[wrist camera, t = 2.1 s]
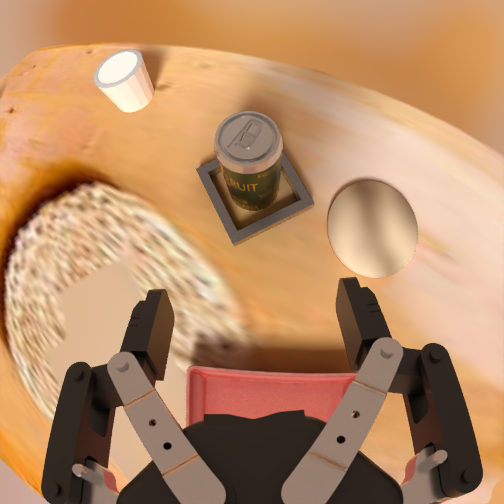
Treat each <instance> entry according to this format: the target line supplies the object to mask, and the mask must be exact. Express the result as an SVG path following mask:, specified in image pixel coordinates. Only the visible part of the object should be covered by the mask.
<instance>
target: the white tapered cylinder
mask: <svg viewBox="0 0 504 504" xmlns="http://www.w3.org/2000/svg"><path fill="white" fill-rule="evenodd" d="M94 83H95V84H96V85H97V86H98V87H99V88H100V89H101V90H102V91H103V92H104V93H105V94H106V95H107V96H108V97H109V98H110V99H111V100H112V101H113V102H114V103H115V104H116V105H117V106H118V107H119V108H120V109H121V110H122V111H124V112H135V111H137V110H139V109H142V108H143V107H144V106H146V105H147V104H148V103H149V102H150V100H151V99H152V97H153V94H154V89H153V85H152V83H151V80H150V77H149V74H148V72H147V69H146V66H145V63H144V61H143V58H142V55H141V53H140V52H139V51H137V50H135V49H125V50H121V51H118V52H116V53H114V54H112V55H110V56H109V57H108V58H106V59H105V60H104V61H103V62H102V63H101V64H100V65H99V67H98V68H97V69H96V72H95V74H94Z"/></svg>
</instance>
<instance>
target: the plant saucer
mask: <svg viewBox="0 0 504 504" xmlns="http://www.w3.org/2000/svg"><path fill="white" fill-rule="evenodd" d="M357 374H358V373H283V372H264V371H247V370H235V369H224V368H214V367H205V366H196V365H194V366H191V367H189V368H188V369H187V374H186V382H187V384H186V427H187V426H189V425H191V424H193V423H195V422H198V421H201V420H203V419H204V414H231V415H235V416H240V417H245V418H250V419H256V418H260V417H264V416H267V415H270V414H274V413H277V412H283V411H294V410H304V411H305V416H311V417H315V418H318V419H321V420H323V421H325V422H326V423H328V421H329V419H330V418H331V416H332V415H333V413H334V411H335V410H336V408H337V407H338V405H339V403H340V402H341V400H342V398H343V396H344V395H345V393H346V391H347V390H348V388H349V386H350V384H351V383H352V381H353V380H354V379H355V378H356V376H357Z"/></svg>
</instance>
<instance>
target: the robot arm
mask: <svg viewBox="0 0 504 504" xmlns="http://www.w3.org/2000/svg"><path fill="white" fill-rule="evenodd" d="M336 313H337V317H338V321H339V325H340V328H341V332H342V336H343V340H344V343H345V347H346V351H347V355H348V359H349V363H350V367H351V371H357V370H359V372H358V374H357V376H356V378H355V379H354V380H353V381H352V383H351V384H350V386H349V388H348V390H347V391H346V393H345V395H344V396H343V398H342V400H341V402H340V403H339V405H338V407H337V408H336V410H335V411H334V413H333V415H332V416H331V418H330V419H329V421H328V423H326V422H325V421H323V420H321V419H318V418H315V417H311V416H305V411H304V410H294V411H283V412H277V413H274V414H270V415H267V416H264V417H260V418H256V419H250V418H245V417H240V416H235V415H231V414H204V419H203V420H201V421H198V422H195V423H193V424H191V425H189V426H187V427H186V428H184V429H182V428H181V426H180V425H179V424H178V422H177V421H176V419H175V418H174V417H173V415H172V414H171V412H170V411H169V409H168V408H167V406H166V405H165V403H164V402H163V400H162V399H161V397H160V396H159V394H158V392H157V391H156V389H155V388H154V387H155V382H156V380H160V381H163V380H164V375H165V369H166V364H167V358H168V353H169V347H170V342H171V337H172V332H173V327H174V312H173V309H172V306H171V303H170V300H169V297H168V294H167V291H166V290H165V289H153V290H149V291H148V294H147V297H146V300H145V301H139V303H138V304H137V305H136V306H135V308H134V309H133V311H132V314H131V319H130V321H129V324H128V327H127V330H126V333H125V337H124V339H123V343H122V346H121V349H120V352H119V353H117V354H115V355H114V356H113V357H112V358H111V359H110V360H109V362H108V364H105V365H101V366H97V367H92V368H91V367H90V366H89V365H88V364H87V363H85V362H77V363H74V364H73V365H71V366H70V367H69V369H68V370H67V372H66V375H65V379H64V382H63V385H62V389H61V393H60V396H59V400H58V404H57V408H56V412H55V416H54V420H53V424H52V429H51V433H50V438H49V443H48V448H47V453H46V458H45V464H44V470H43V477H42V484H41V491H42V494H43V496H44V498H45V499H46V500H47V501H48V502H49V503H50V504H440V503H443V502H446V501H449V500H451V499H454V498H457V497H459V496H462V495H464V494H467V493H469V492H472V491H473V490H475V489H476V488H477V487H478V486H479V484H480V483H481V481H482V477H483V469H482V464H481V459H480V455H479V450H478V446H477V442H476V438H475V434H474V430H473V426H472V423H471V419H470V416H469V412H468V409H467V406H466V402H465V399H464V396H463V393H462V390H461V387H460V384H459V381H458V378H457V375H456V372H455V370H454V367H453V364H452V361H451V359H450V356H449V354H448V351H447V350H446V349H445V348H444V347H443V346H441V345H440V344H436V343H430V344H427V345H425V346H424V347H423V349H422V350H416V349H408V348H404V347H402V346H401V345H400V343H399V342H398V341H396V340H395V339H393V338H392V336H391V334H390V331H389V329H388V326H387V324H386V321H385V319H384V316H383V314H382V312H381V309H380V306H379V305H378V301H377V299H376V297H375V294H374V293H373V292H372V291H371V290H370V289H369V288H368V287H363V288H361V287H360V285H359V282H358V280H357V278H356V277H350V278H340V280H339V285H338V291H337V298H336ZM387 392H392V393H401V394H403V398H404V403H405V407H406V412H407V416H408V421H409V426H410V431H411V436H412V441H413V446H414V452H415V456H414V457H412V458H411V459H410V460H409V462H408V463H407V466H406V474H405V479H404V481H403V483H402V484H401V485H399V484H398V483H397V481H396V480H395V479H393V478H392V477H391V476H390V475H388V474H387V473H386V472H385V471H383V470H382V469H381V468H380V467H379V466H377V465H376V464H375V463H374V462H373V461H371V460H370V459H369V458H368V457H367V456H365V455H364V454H363V453H362V452H361V451H359V449H360V447H361V445H362V443H363V442H364V440H365V438H366V436H367V434H368V432H369V431H370V429H371V427H372V425H373V423H374V421H375V419H376V417H377V415H378V413H379V411H380V409H381V407H382V405H383V403H384V400H385V398H386V396H387ZM119 406H123V408H124V410H125V412H126V414H127V416H128V418H129V420H130V422H131V423H132V425H133V427H134V429H135V431H136V432H137V434H138V436H139V438H140V439H141V441H142V443H143V445H144V446H145V448H146V450H147V451H148V453H149V454H150V456H151V458H152V459H153V460H152V461H151V462H150V463H149V464H148V465H147V466H146V467H145V468H144V469H143V470H142V471H141V472H140V473H139V474H138V475H137V476H136V477H135V478H134V479H133V480H132V481H131V482H130V483H128V484H127V485H126V486H125V487H124V488H123V489H122V490H121V492H120V493H119V492H118V490H117V487H116V480H115V477H114V475H113V473H112V472H111V471H110V470H108V460H109V452H110V444H111V436H112V429H113V423H114V416H115V409H116V407H119Z"/></svg>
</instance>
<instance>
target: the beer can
mask: <svg viewBox="0 0 504 504" xmlns="http://www.w3.org/2000/svg"><path fill="white" fill-rule="evenodd" d="M214 150H215V153H216V156H217V159H218V162H219V164H220V167H221V170H222V173H223V176H224V178H225V181H226V184H227V187H228V189H229V192H230V195H231V198H232V199H233V201H234V202H235V203H236V204H237V205H238V206H240V207H241V208H243V209H246V210H249V211H258V210H261V209H265V208H266V207H268V206H269V205H271V204H272V203H273V201H274V200H275V199H276V197H277V194H278V190H279V180H280V170H281V160H282V150H283V142H282V136H281V134H280V131H279V129H278V127H277V124H276V123H275V122H274V121H273V120H272V119H271V118H270V117H268V116H266V115H265V114H263V113H259V112H255V111H242V112H238V113H235V114H233V115H231V116H229V117H228V118H226V119H225V120H224V121H223V122H222V123H221V124H220V125H219V127H218V130H217V132H216V137H215V145H214Z"/></svg>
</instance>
